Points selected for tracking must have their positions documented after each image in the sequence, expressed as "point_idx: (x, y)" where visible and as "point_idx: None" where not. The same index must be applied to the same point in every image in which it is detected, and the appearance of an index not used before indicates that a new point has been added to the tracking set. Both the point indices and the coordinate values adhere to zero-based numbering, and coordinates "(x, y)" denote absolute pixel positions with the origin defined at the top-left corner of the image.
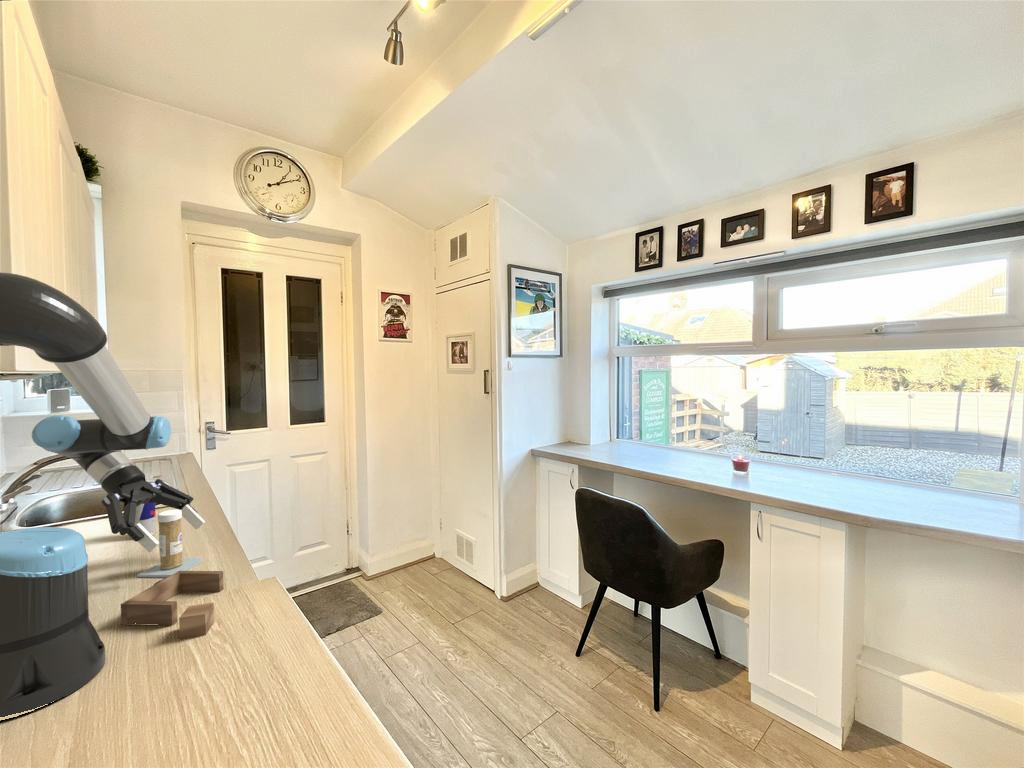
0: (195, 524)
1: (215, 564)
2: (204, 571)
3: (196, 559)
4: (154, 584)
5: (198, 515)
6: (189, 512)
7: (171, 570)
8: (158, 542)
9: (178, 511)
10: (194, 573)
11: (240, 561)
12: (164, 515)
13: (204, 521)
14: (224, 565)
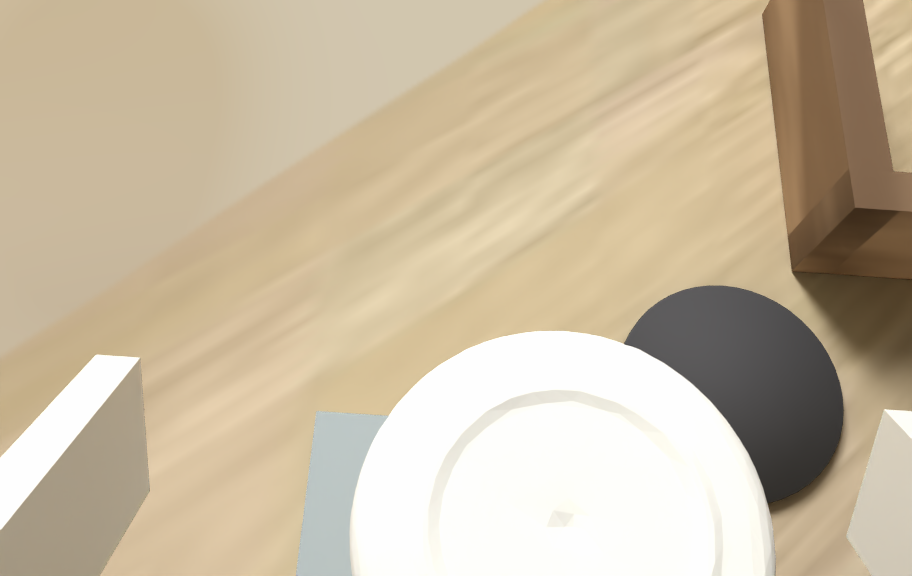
0: (123, 485)
1: (408, 270)
2: (835, 29)
3: (341, 460)
4: (784, 492)
5: (40, 427)
6: (13, 564)
7: None
8: (894, 417)
9: (526, 359)
10: (875, 73)
11: (366, 121)
12: (759, 490)
13: (101, 360)
14: (430, 193)
